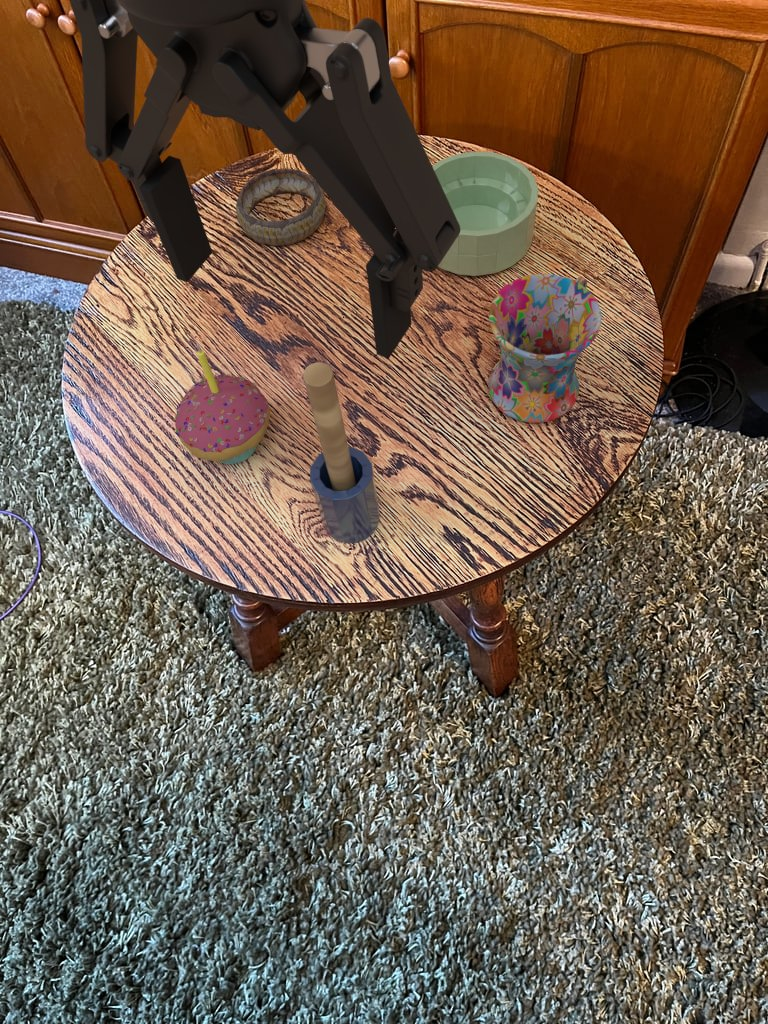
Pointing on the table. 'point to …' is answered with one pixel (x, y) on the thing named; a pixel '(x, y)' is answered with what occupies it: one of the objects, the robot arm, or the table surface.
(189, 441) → the cupcake
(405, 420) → the table surface
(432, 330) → the table surface
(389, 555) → the table surface
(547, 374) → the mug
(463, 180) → the bowl
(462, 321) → the table surface
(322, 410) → the stick
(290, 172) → the decorative ring
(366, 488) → the holder
